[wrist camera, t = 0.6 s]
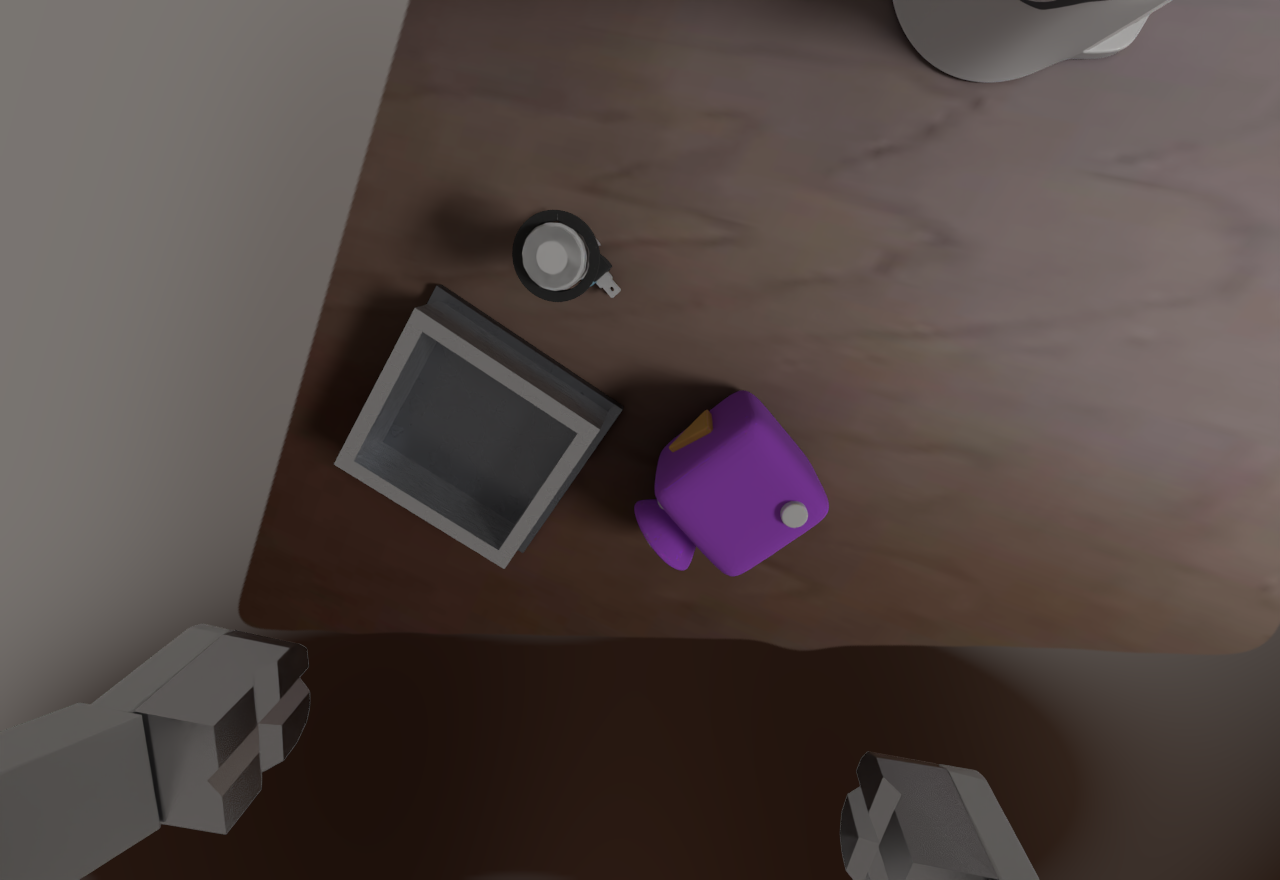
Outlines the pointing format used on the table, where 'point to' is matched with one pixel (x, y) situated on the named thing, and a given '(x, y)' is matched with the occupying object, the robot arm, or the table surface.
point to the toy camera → (731, 490)
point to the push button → (560, 257)
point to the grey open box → (475, 428)
